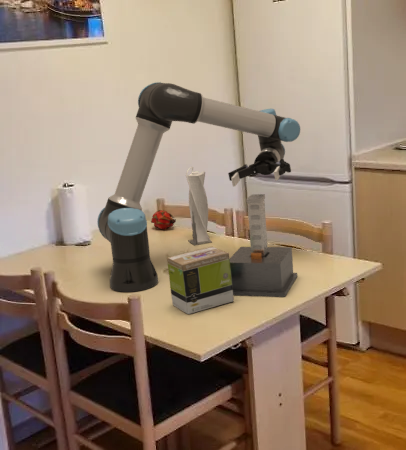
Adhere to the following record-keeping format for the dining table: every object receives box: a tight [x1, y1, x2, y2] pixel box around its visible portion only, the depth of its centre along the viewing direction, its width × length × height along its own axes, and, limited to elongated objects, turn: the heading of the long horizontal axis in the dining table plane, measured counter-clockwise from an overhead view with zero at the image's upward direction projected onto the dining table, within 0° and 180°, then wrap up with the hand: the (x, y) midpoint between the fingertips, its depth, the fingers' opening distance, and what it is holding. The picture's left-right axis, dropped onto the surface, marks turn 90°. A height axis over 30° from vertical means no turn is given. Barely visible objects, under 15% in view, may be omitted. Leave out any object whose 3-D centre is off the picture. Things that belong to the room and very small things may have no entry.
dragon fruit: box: [150, 209, 176, 231], centre depth 286 cm, size 8×8×12 cm
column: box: [245, 193, 268, 257], centre depth 206 cm, size 6×4×25 cm
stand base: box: [229, 246, 298, 298], centre depth 208 cm, size 18×18×11 cm
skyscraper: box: [185, 166, 213, 246], centre depth 260 cm, size 8×8×28 cm
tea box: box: [166, 246, 235, 315], centre depth 197 cm, size 15×10×15 cm, turn 118°
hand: (254, 179), depth 215 cm, fingers open, 13 cm apart
